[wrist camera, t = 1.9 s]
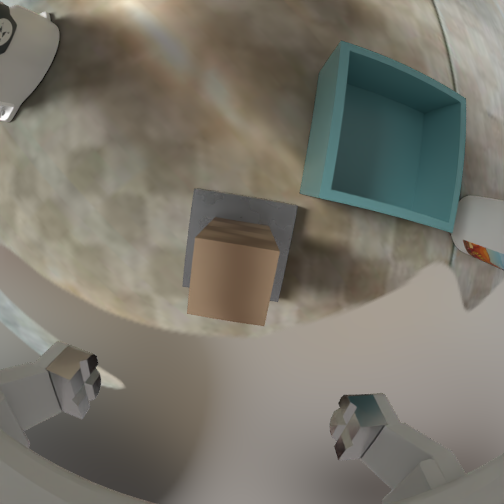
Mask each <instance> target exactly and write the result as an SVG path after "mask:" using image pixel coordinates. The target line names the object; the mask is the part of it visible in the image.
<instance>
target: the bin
mask: <svg viewBox="0 0 504 504" xmlns="http://www.w3.org/2000/svg"><path fill="white" fill-rule="evenodd" d="M465 138H466V98H464V97H463V96H461V95H459V94H458V93H456V92H455V91H453V90H451V89H450V88H448V87H446V86H444V85H443V84H441V83H439V82H437V81H436V80H434V79H432V78H430V77H428V76H426V75H424V74H422V73H420V72H418V71H416V70H414V69H412V68H410V67H408V66H406V65H404V64H402V63H399V62H397V61H395V60H393V59H390V58H388V57H386V56H383V55H381V54H378V53H376V52H373V51H370V50H368V49H365V48H362V47H359V46H356V45H353V44H350V43H347V42H344V41H340V43H339V44H338V46H337V47H336V49H335V50H334V51H333V53H332V54H331V56H330V57H329V59H328V60H327V62H326V63H325V65H324V66H323V68H322V69H321V71H320V72H319V76H318V84H317V91H316V97H315V104H314V111H313V117H312V123H311V130H310V136H309V142H308V148H307V154H306V160H305V165H304V171H303V177H302V182H301V188H300V194H304V195H308V196H312V197H317V198H321V199H326V200H330V201H335V202H339V203H344V204H348V205H352V206H356V207H360V208H365V209H369V210H373V211H377V212H380V213H384V214H388V215H392V216H396V217H399V218H403V219H407V220H410V221H414V222H417V223H421V224H424V225H427V226H431V227H434V228H437V229H441V230H444V231H447V232H450V233H453V228H454V223H455V218H456V213H457V208H458V202H459V196H460V189H461V182H462V174H463V165H464V154H465Z"/></svg>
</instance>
